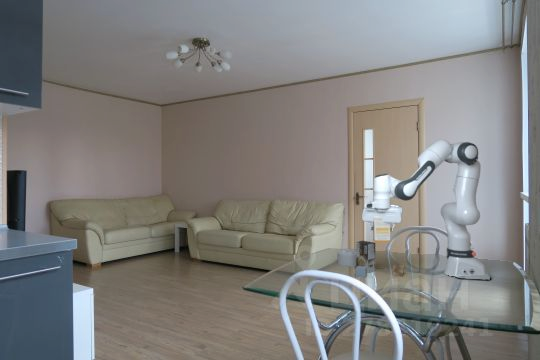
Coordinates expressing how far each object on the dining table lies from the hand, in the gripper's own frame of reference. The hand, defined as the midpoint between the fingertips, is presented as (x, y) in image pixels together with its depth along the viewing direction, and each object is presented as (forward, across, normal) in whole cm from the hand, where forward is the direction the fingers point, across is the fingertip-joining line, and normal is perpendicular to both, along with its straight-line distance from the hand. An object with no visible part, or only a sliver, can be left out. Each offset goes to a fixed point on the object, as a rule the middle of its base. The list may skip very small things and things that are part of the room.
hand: (381, 230), depth 200 cm
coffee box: (+25, +10, -12) cm, 30 cm away
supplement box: (+6, 0, 0) cm, 6 cm away
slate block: (+25, +10, +2) cm, 27 cm away
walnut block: (+25, -8, -9) cm, 28 cm away
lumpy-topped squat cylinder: (+25, +22, -22) cm, 40 cm away
